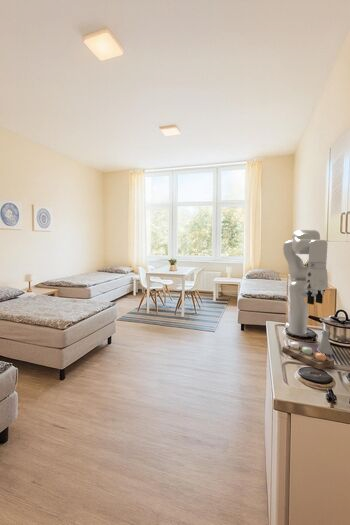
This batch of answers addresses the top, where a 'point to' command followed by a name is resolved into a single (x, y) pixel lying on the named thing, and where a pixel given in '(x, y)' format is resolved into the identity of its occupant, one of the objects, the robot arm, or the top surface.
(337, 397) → the top surface
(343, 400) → the top surface
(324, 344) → the flask
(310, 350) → the button
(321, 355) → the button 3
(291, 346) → the button
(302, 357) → the panel
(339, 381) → the top surface
